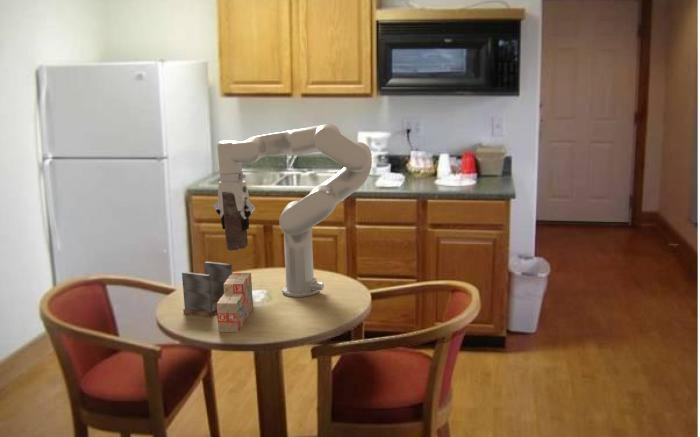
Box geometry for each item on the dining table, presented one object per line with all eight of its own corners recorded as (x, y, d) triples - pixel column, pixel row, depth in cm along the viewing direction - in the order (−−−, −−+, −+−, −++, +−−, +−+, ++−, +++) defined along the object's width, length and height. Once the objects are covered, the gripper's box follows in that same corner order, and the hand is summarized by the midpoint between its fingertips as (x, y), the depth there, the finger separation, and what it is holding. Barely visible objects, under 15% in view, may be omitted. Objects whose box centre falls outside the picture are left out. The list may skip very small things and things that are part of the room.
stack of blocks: (238, 332, 229) (236, 293, 226) (218, 332, 230) (215, 293, 227) (253, 308, 250) (251, 271, 247) (234, 308, 250) (232, 272, 248)
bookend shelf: (235, 302, 255) (233, 263, 252) (209, 317, 242) (206, 276, 239) (210, 299, 259) (207, 260, 256) (183, 313, 246) (180, 273, 243)
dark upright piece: (227, 246, 265) (222, 189, 261) (248, 244, 266) (243, 187, 262) (226, 251, 258) (221, 193, 253) (248, 250, 259) (243, 192, 254)
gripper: (259, 176, 256) (263, 227, 260) (216, 174, 263) (220, 224, 267) (247, 180, 250) (251, 233, 254) (203, 178, 257) (208, 230, 261)
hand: (235, 228), depth 260 cm, fingers closed on dark upright piece, 7 cm apart
